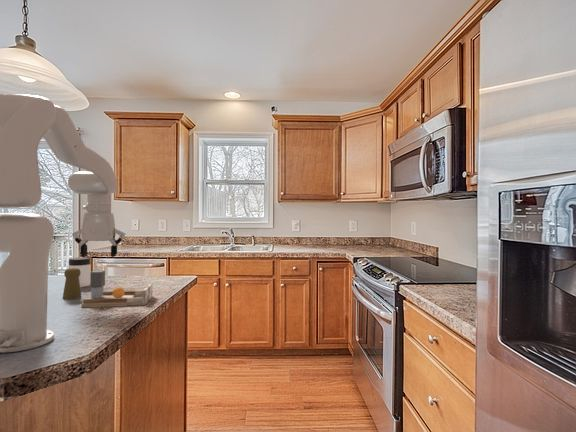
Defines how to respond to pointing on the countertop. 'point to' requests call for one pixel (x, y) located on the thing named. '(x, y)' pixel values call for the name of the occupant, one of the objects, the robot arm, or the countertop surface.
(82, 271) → the jar
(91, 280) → the grey stepped block
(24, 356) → the countertop surface
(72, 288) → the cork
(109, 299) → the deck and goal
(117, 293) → the ball
